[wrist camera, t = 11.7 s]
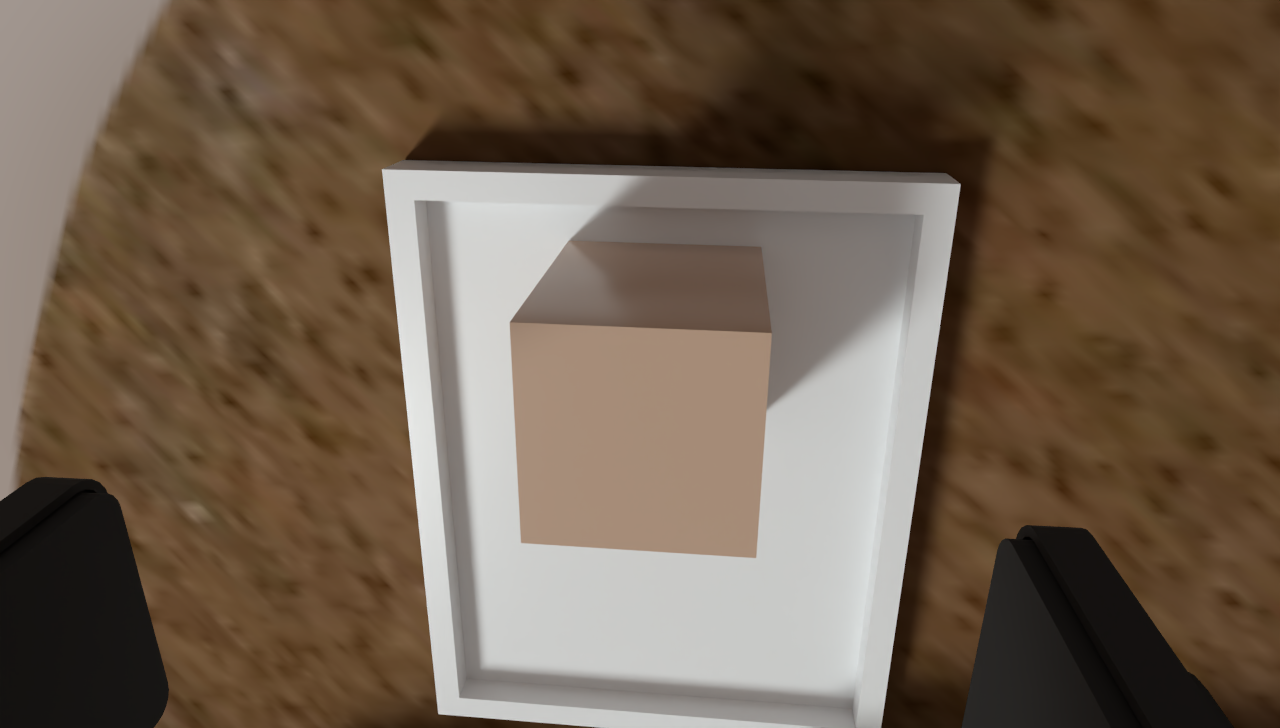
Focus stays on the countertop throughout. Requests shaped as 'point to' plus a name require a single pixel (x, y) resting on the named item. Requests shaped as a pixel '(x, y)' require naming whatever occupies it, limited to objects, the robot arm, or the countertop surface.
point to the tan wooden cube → (643, 398)
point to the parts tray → (792, 461)
